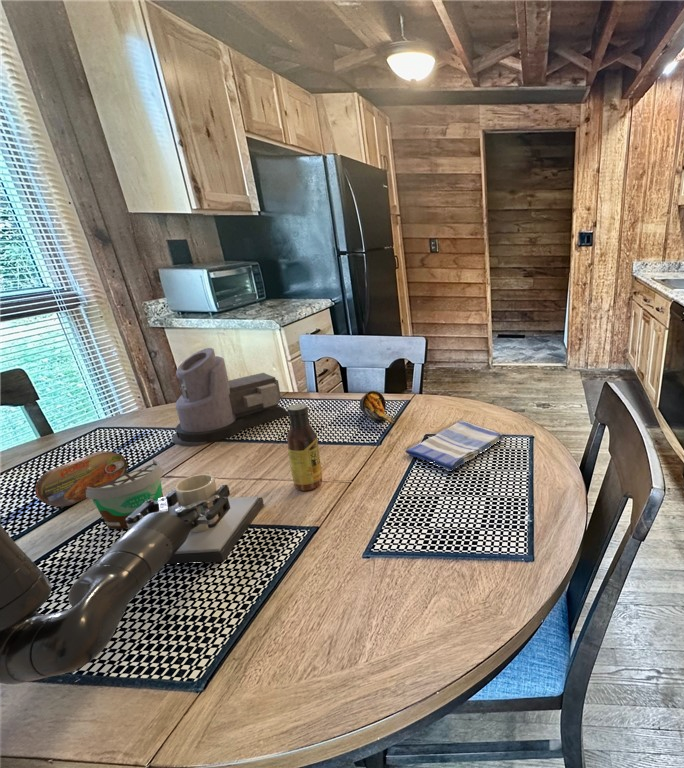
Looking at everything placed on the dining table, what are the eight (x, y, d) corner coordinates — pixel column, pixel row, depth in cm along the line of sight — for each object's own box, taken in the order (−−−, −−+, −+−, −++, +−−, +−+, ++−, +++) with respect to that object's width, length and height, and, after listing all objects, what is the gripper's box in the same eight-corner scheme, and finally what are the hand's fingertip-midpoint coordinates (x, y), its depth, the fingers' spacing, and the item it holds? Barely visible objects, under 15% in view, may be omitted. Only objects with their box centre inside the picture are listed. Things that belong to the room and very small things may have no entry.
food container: (118, 540, 79) (103, 496, 76) (98, 532, 81) (82, 488, 78) (186, 504, 90) (175, 464, 87) (167, 497, 92) (155, 458, 89)
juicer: (185, 451, 111) (162, 364, 103) (163, 434, 120) (140, 352, 111) (295, 416, 135) (283, 342, 126) (269, 404, 143) (257, 334, 135)
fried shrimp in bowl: (376, 394, 143) (410, 389, 132) (374, 426, 141) (408, 423, 130) (352, 390, 135) (386, 385, 125) (349, 424, 134) (384, 421, 123)
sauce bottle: (321, 490, 97) (310, 411, 90) (291, 494, 95) (278, 414, 88) (324, 475, 103) (314, 400, 96) (296, 478, 101) (284, 403, 94)
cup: (178, 533, 78) (166, 492, 75) (197, 513, 83) (187, 474, 80) (213, 531, 79) (202, 491, 76) (229, 511, 84) (220, 473, 81)
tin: (49, 515, 85) (35, 479, 83) (40, 511, 86) (25, 476, 84) (132, 477, 99) (122, 446, 96) (123, 475, 100) (113, 443, 97)
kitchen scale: (124, 568, 73) (120, 556, 72) (184, 508, 89) (181, 498, 88) (223, 562, 75) (220, 550, 74) (263, 505, 91) (261, 494, 90)
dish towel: (505, 440, 123) (505, 432, 122) (452, 475, 105) (452, 465, 104) (460, 425, 132) (460, 417, 131) (404, 454, 113) (403, 445, 112)
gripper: (189, 526, 65) (239, 471, 81) (87, 531, 64) (158, 474, 79) (199, 564, 68) (246, 503, 83) (102, 570, 66) (168, 507, 81)
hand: (203, 489), depth 81 cm, fingers open, 7 cm apart
